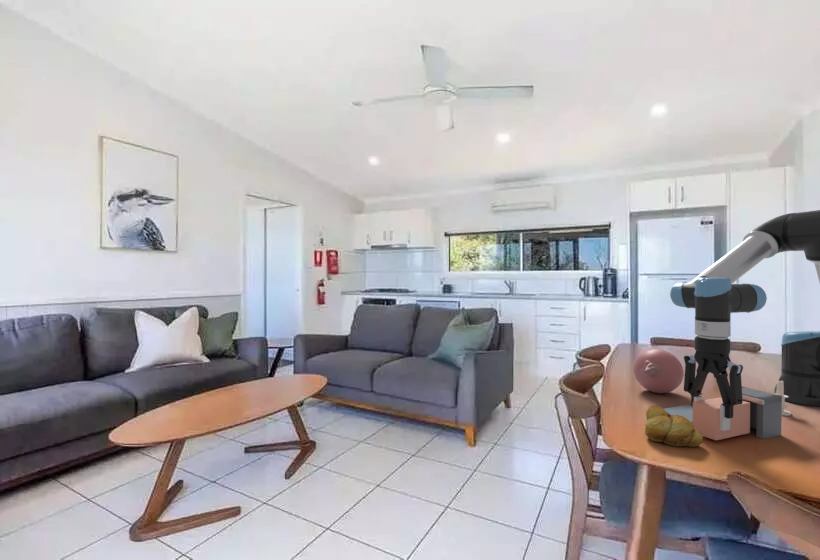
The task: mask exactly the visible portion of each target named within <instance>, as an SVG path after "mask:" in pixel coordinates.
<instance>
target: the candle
mask: <svg viewBox="0 0 820 560" xmlns="http://www.w3.org/2000/svg"><path fill="white" fill-rule="evenodd" d="M776 384H777V392H776V395H780V396H782V417H783V416H786V417H789V416H792V412H791V411H789V410H786V408H788V406H787V404H785V403H786V401H785V398H788V397H789V396H787V395H784V384H783V381H778V380H777V382H776Z"/></svg>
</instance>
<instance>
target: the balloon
mask: <svg viewBox="0 0 820 560" xmlns="http://www.w3.org/2000/svg"><path fill="white" fill-rule="evenodd" d="M633 374H634V377H635V379H636V381H637V382H638V383H639V385H640V386H642V387H643V389H645V390H647V391H650V392H652V393H656V394H667V393H670V392H673V391H674V390H676V389H678V388H679V386H680V385H681V384H682V382H683V380H684V377H685V370H684V366H683V365H682V362H680V360H679V358H677V357H676V355H674V354H672V353H671V352H669V351H667V350H664V349H660V348H659V349H658V348H657V349H656V348H655V349H648V350H646V351H644V352H642V353H640V354H639V355H638V356H637V357H636V359H635V361H634V363H633Z"/></svg>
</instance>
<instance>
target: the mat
mask: <svg viewBox="0 0 820 560" xmlns="http://www.w3.org/2000/svg"><path fill="white" fill-rule="evenodd" d="M663 409H664V410H665V411H666V412H668V413H669V414H670V415H680V416H683V417H685V418H687V419H688V420H689V421H690V422H692V423H693V407H692V406H691V404H685V405H678V406H672V407H665V408H663Z"/></svg>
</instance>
